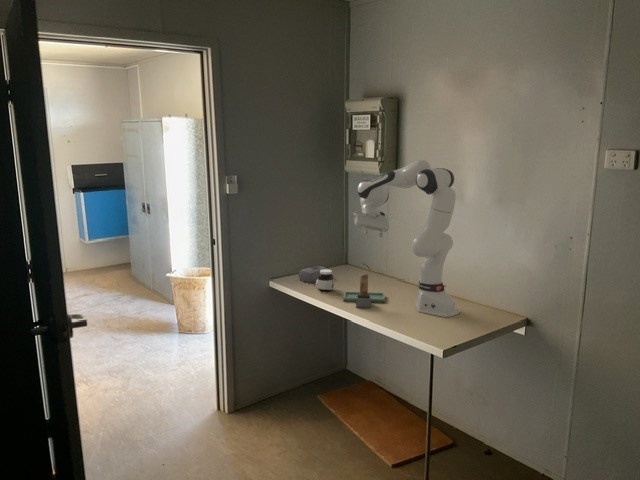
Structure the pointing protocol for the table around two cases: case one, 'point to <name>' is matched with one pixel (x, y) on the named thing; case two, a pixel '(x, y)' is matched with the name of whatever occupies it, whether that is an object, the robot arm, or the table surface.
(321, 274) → the spread jar
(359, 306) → the grey square sleeve
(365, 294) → the dowel
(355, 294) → the tray
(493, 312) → the table surface
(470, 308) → the table surface
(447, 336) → the table surface
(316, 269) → the soft grey pack
